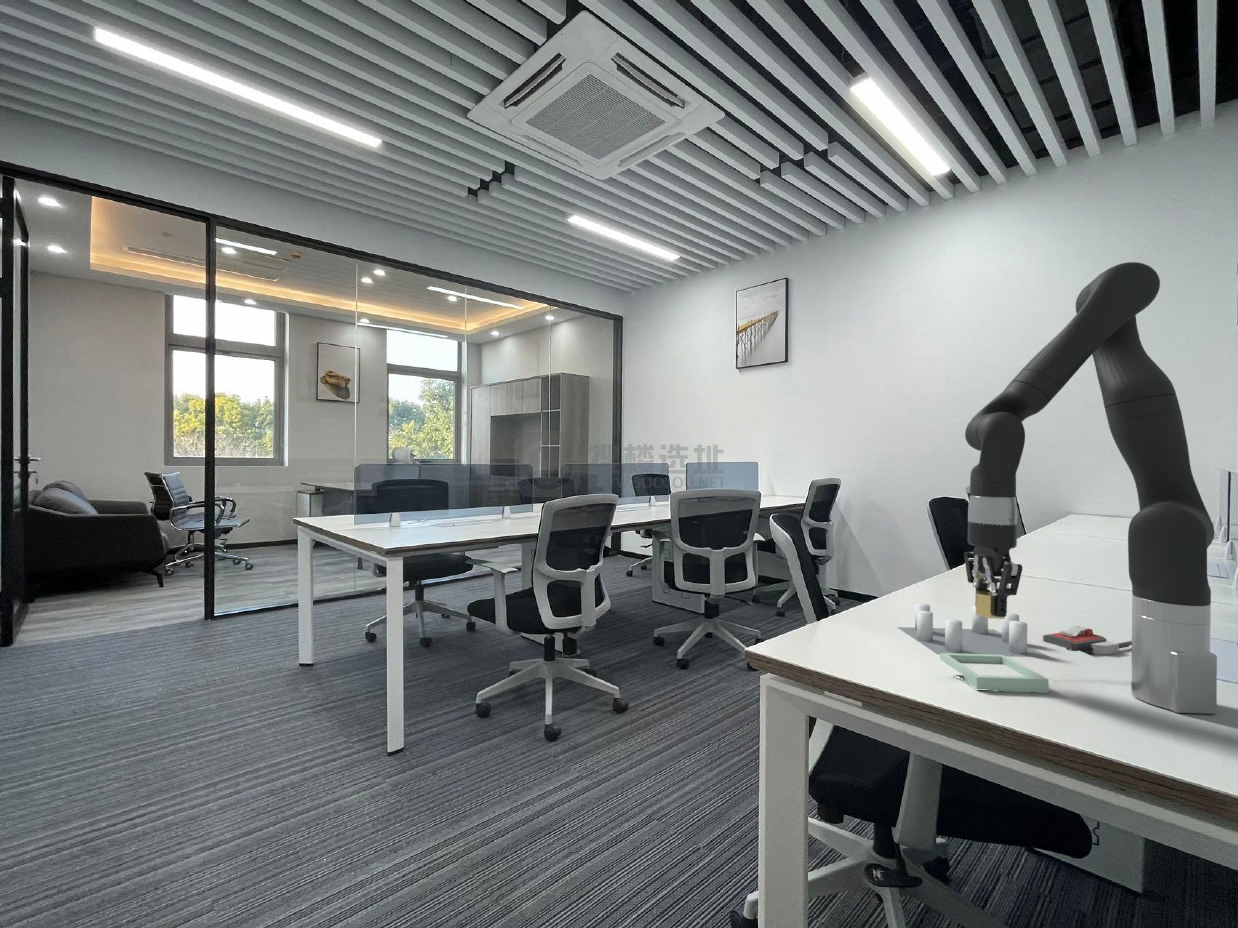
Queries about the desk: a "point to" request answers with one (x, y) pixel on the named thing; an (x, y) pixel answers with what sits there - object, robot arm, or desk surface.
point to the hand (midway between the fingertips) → (990, 611)
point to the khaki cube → (985, 604)
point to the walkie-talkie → (1084, 641)
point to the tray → (1000, 683)
